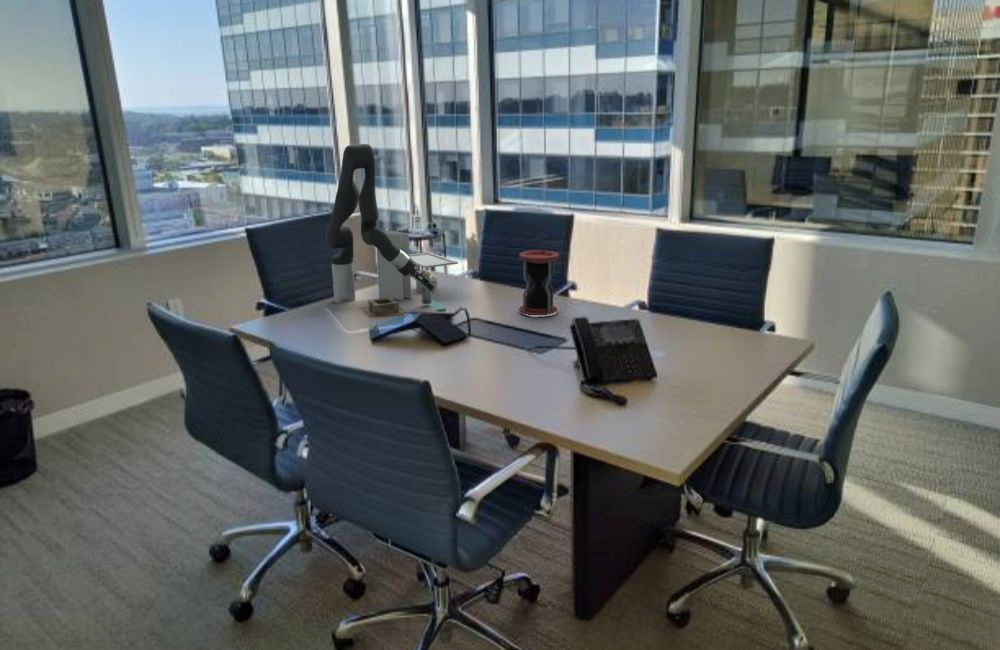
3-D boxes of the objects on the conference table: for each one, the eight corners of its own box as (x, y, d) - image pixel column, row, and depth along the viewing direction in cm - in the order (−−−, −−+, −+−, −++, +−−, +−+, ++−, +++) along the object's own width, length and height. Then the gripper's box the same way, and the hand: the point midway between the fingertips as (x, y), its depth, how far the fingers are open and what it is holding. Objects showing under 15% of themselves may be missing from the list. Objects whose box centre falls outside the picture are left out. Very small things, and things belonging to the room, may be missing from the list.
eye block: (359, 309, 292) (358, 298, 290) (395, 305, 298) (394, 293, 297) (371, 322, 275) (370, 309, 273) (409, 317, 281) (409, 305, 280)
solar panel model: (458, 293, 318) (457, 261, 314) (425, 298, 309) (424, 266, 305) (429, 281, 340) (429, 251, 336) (398, 286, 331) (397, 255, 326)
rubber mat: (408, 305, 298) (408, 303, 297) (434, 302, 303) (434, 300, 302) (419, 314, 286) (418, 311, 285) (446, 310, 291) (445, 308, 290)
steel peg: (420, 302, 294) (419, 270, 290) (429, 301, 296) (428, 269, 292) (423, 304, 291) (422, 272, 287) (433, 303, 292) (432, 271, 288)
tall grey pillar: (411, 300, 307) (408, 233, 298) (403, 303, 302) (400, 235, 293) (387, 295, 314) (384, 230, 305) (379, 298, 310) (375, 232, 301)
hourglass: (565, 313, 286) (567, 254, 279) (534, 320, 277) (535, 259, 270) (541, 305, 299) (542, 248, 291) (511, 311, 290) (511, 252, 283)
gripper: (413, 258, 278) (442, 284, 286) (402, 252, 290) (430, 277, 299) (401, 272, 277) (430, 298, 286) (391, 265, 290) (419, 290, 298)
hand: (430, 287), depth 292 cm, fingers closed on steel peg, 4 cm apart
